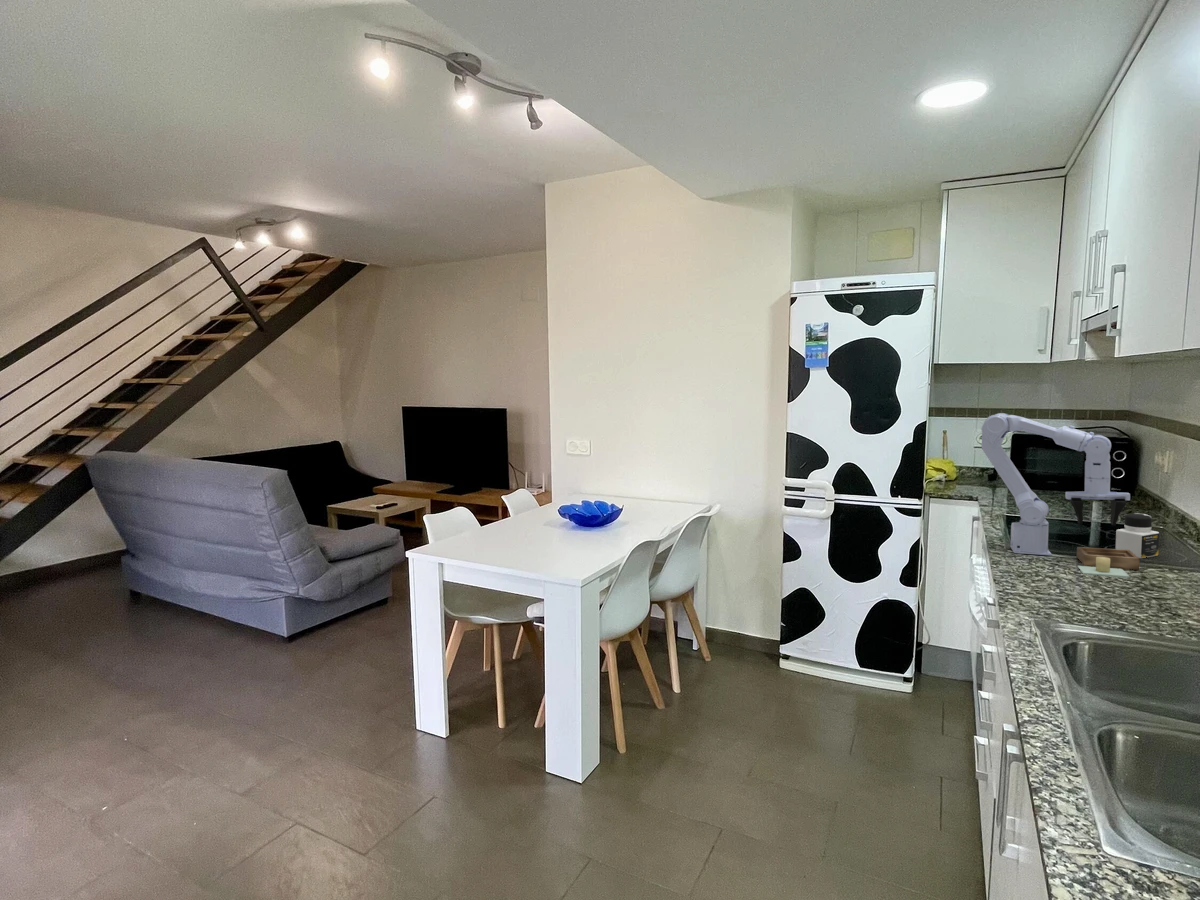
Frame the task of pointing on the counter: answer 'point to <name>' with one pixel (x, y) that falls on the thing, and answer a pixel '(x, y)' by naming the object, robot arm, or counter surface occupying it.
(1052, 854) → the counter surface
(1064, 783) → the counter surface
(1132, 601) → the counter surface
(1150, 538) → the medicine bottle
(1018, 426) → the robot arm
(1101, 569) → the lid
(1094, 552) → the box
